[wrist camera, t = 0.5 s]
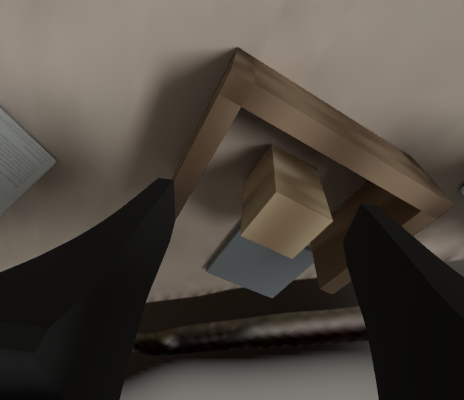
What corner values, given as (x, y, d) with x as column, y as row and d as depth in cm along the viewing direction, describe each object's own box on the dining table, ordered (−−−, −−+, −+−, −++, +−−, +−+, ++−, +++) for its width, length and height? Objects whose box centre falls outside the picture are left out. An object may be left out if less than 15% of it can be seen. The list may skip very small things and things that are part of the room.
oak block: (316, 168, 22) (333, 221, 17) (285, 203, 24) (292, 259, 19) (271, 143, 21) (276, 192, 16) (243, 182, 23) (240, 235, 18)
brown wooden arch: (412, 157, 20) (454, 205, 16) (319, 242, 26) (332, 294, 22) (237, 46, 17) (231, 69, 12) (174, 172, 23) (154, 218, 18)
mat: (319, 251, 27) (320, 256, 26) (272, 293, 31) (272, 298, 31) (246, 217, 25) (246, 222, 24) (206, 267, 29) (206, 271, 29)
